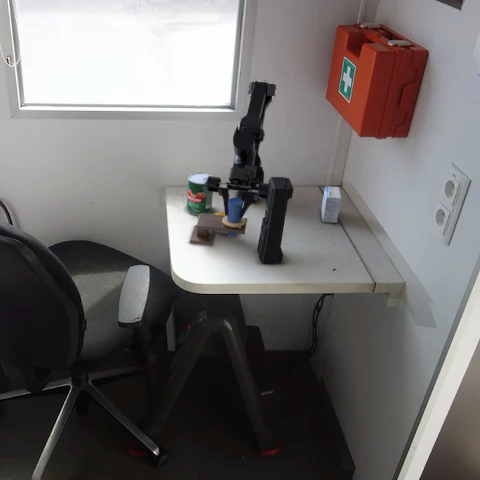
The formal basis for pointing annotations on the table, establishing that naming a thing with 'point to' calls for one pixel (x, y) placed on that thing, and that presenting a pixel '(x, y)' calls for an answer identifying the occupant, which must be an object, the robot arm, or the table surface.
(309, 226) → the table surface
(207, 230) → the stand
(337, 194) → the medicine box
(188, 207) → the canned tomato
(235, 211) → the peg
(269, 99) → the robot arm
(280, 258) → the portable radio
